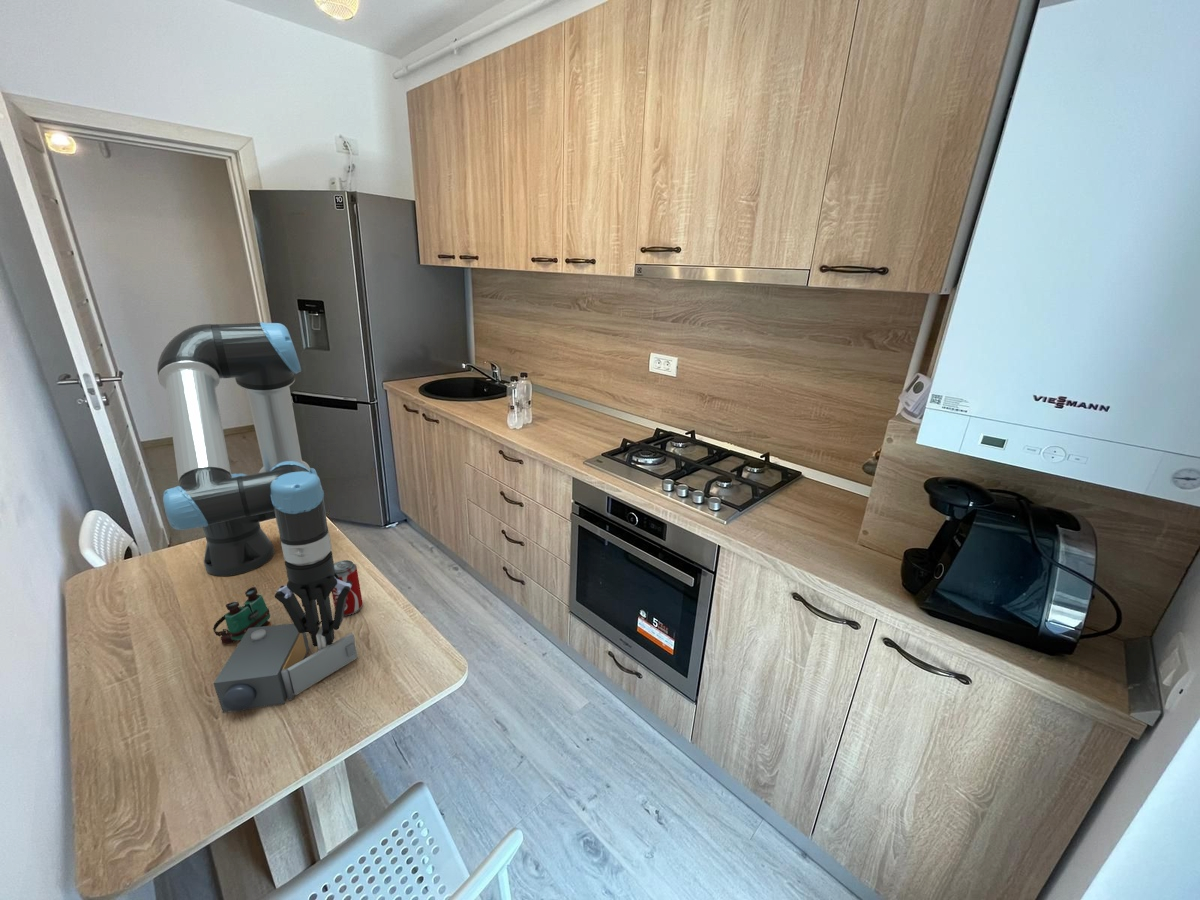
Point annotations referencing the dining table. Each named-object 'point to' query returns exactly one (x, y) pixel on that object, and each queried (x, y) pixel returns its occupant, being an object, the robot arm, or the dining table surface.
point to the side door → (319, 665)
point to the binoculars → (243, 617)
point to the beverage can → (354, 598)
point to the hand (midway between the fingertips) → (326, 656)
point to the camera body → (260, 667)
